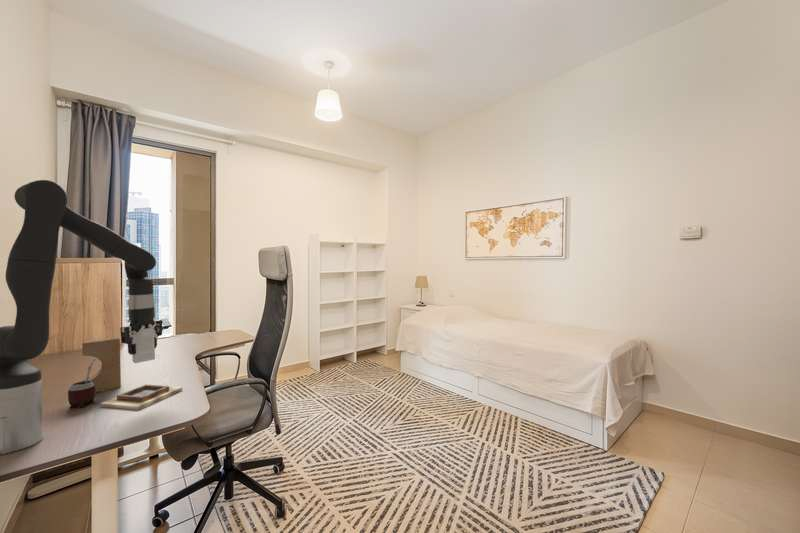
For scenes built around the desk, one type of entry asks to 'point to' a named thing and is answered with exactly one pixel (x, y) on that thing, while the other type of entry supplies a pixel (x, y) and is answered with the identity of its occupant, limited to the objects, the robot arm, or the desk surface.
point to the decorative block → (105, 362)
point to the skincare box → (144, 346)
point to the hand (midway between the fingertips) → (143, 351)
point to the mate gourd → (82, 392)
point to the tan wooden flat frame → (141, 397)
